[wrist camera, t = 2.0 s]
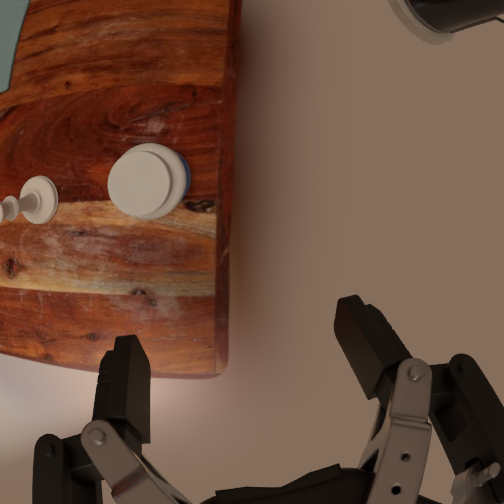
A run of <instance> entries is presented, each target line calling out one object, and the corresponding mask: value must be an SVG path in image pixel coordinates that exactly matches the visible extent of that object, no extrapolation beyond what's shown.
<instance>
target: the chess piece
mask: <svg viewBox="0 0 504 504" xmlns="http://www.w3.org/2000/svg"><path fill="white" fill-rule="evenodd" d="M57 206H58V193H57V190H56V187H55V185H54V183H53V182H52V181H51V180H50V179H49V178H47V177H45V176H36V177H33V178H31V179H29V180H28V181H27V182H26V183H25V185H24V186H23V188H22V190H21V194H20V199H18V200H16V198H15V197H13V196H8V197H6V198H5V199H4V201H3V202H0V224H1V223H2V221H3V220H4V219H5V218H6V219H7V220H14V219H15V218H16V217H17V216H18V213H19V212H22V213H23V215H24V216H25V218H26V219H27V220H28V221H30V222H32V223H34V224H42V223H46V222H48V221H49V220H50V219H51V218H52V217H53V216H54V214H55V212H56V210H57Z"/></svg>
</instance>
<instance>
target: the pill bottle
mask: <svg viewBox="0 0 504 504" xmlns="http://www.w3.org/2000/svg"><path fill="white" fill-rule="evenodd" d="M190 183H191V171H190V168H189V165H188V163H187V161H186V160H185V159H184V158H183V157H182V156H181V155H180V154H179V153H177V152H176V151H173V150H171V149H169V148H167V147H165V146H163V145H160V144H154V143H146V144H141V145H138V146H135V147H133V148H131V149H130V150H128V151H127V152H126V153H125V154H123V156H122V157H121V158H120V159H119V160H118V161H117V162H116V163H115V164H114V166H113V167H112V169H111V171H110V174H109V178H108V191H109V195H110V198H111V200H112V202H113V203H114V205H115V206H116V207H117V208H118V209H119V210H120V211H122V212H124V213H126V214H128V215H131V216H133V217H135V218H139V219H145V220H150V219H156V218H160V217H162V216H164V215H166V214H168V213H169V212H170V211H172V210H173V209H174V208H175V207H176V206H177V205H178V204H179V203H180V201H181V200H182V199H183V198H184V196H185V195H186V193H187V192H188V190H189V187H190Z"/></svg>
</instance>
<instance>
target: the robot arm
mask: <svg viewBox="0 0 504 504" xmlns="http://www.w3.org/2000/svg"><path fill="white" fill-rule="evenodd" d="M404 2H405V4H406V5H407V7H408V9H409V10H410V11H411V13H412V14H413V15H414V16H415V17H416V19H417V20H418V21H419V22H421V23H422V24H423V25H424V26H425V27H427V28H428V29H430V30H431V31H433V32H436V33H439V34H445V33H448V32H450V33H455V32H458V31H461V30H464V29H467V28H470V27H473V26H476V25H480V24H483V23H486V22H490V21H493V20H498V21H500V22H502V23H504V20H503V19H501V18H499V17H496V16H498V15H501V14H504V0H404ZM334 332H335V336H336V338H337V340H338V342H339V344H340V346H341V348H342V350H343V352H344V354H345V356H346V358H347V359H348V361H349V363H350V365H351V367H352V369H353V371H354V373H355V375H356V377H357V379H358V381H359V383H360V385H361V387H362V389H363V391H364V393H365V395H366V397H367V399H368V400H370V399H372V398H375V397H377V398H378V400H379V402H380V403H379V405H378V408H377V412H376V416H375V420H374V423H373V427H372V431H371V434H370V438H369V441H368V444H367V446H366V448H365V450H364V452H363V455H362V457H361V459H360V462H359V465H358V467H357V468H341V467H340V465H339V463H338V464H335V465H332V466H330V467H326V468H323V469H320V470H316V471H313V472H310V473H308V474H306V475H304V476H302V477H301V478H299V479H297V480H295V481H293V482H291V483H289V484H287V485H285V486H282V487H275V488H274V487H241V488H234V489H226V490H219V491H215V493H216V496H213V497H211V498H209V499H207V500H205V501H203V502H202V503H200V504H442V503H439V502H436V501H434V500H431V499H429V498H426V497H424V496H421V495H419V490H420V487H421V483H422V479H423V474H424V470H425V466H426V461H427V456H428V451H429V446H430V439H431V434H432V426H431V424H430V423H428V416H429V418H430V420H431V422H432V424H433V427H434V429H435V431H436V433H437V435H438V437H439V439H440V441H441V444H442V446H443V448H444V450H445V453H446V455H447V457H448V459H449V462H450V464H451V466H452V469H453V471H454V474H455V476H456V477H455V479H454V481H453V484H452V488H451V494H452V495H453V502H452V504H504V407H503V405H502V403H501V402H500V400H499V398H498V396H497V395H496V393H495V392H494V390H493V388H492V386H491V385H490V383H489V382H488V380H487V378H486V377H485V375H484V374H483V372H482V371H481V369H480V368H479V366H478V364H477V363H476V361H475V360H474V359H473V358H472V357H471V356H469V355H467V354H456V355H455V356H453V357H452V358H451V360H450V361H449V363H446V364H437V365H428V364H427V363H426V362H424V361H422V360H421V359H417V358H413V357H412V356H411V354H410V353H409V351H408V350H407V349H406V347H405V346H404V344H403V343H402V341H401V340H400V338H399V337H398V335H397V334H396V332H395V331H394V330H393V329H392V327H391V325H390V324H389V323H388V322H387V320H386V318H385V317H384V315H383V314H382V313H381V311H380V310H378V309H377V308H375V307H374V306H372V305H371V304H368V305H365V304H364V303H363V301H362V300H361V298H360V297H359V296H358V295H352V296H348V297H344V298H340V299H339V300H338V302H337V309H336V315H335V321H334ZM150 378H151V370H150V364H149V360H148V358H147V356H146V354H145V352H144V350H143V348H142V346H141V344H140V342H139V340H138V338H137V336H136V335H126V336H117V337H116V339H115V344H114V350H111V351H107V352H106V354H105V355H104V357H103V358H102V360H101V363H100V368H99V375H98V381H97V382H98V384H97V387H96V394H95V402H94V409H93V417H92V421H91V422H90V423H88V424H87V425H86V426H85V427H84V429H83V430H82V432H81V433H80V434H78V435H74V436H71V437H68V438H64V439H60V438H58V437H57V436H55V435H53V434H45V435H43V436H41V437H40V438H39V439H38V440H37V442H36V445H35V450H34V463H33V485H32V487H33V488H32V500H33V501H32V504H103V499H102V486H101V481H102V480H106V482H107V483H108V485H109V486H110V488H111V489H112V492H111V495H112V497H113V499H114V500H115V502H116V503H117V504H192V503H191V502H190V501H189V500H188V499H187V498H186V497H185V496H184V495H183V494H181V493H180V492H179V491H178V490H177V489H175V488H174V487H173V486H172V485H171V484H170V483H169V482H168V481H167V480H166V479H165V478H164V477H163V476H162V475H161V474H160V473H159V471H158V470H157V469H156V468H155V467H154V466H153V465H152V464H151V463H150V462H149V460H148V459H147V458H146V457H145V456H144V455H143V454H142V444H146V443H150Z"/></svg>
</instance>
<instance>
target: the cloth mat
mask: <svg viewBox="0 0 504 504" xmlns="http://www.w3.org/2000/svg"><path fill="white" fill-rule="evenodd" d="M30 1H31V0H0V93H2V92H5V91H7V90H9V87H10V80H11V74H12V69H13V63H14V58H15V54H16V49H17V45H18V41H19V37H20V33H21V29H22V26H23V22H24V19H25V16H26V13H27V10H28V7H29V4H30Z"/></svg>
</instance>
